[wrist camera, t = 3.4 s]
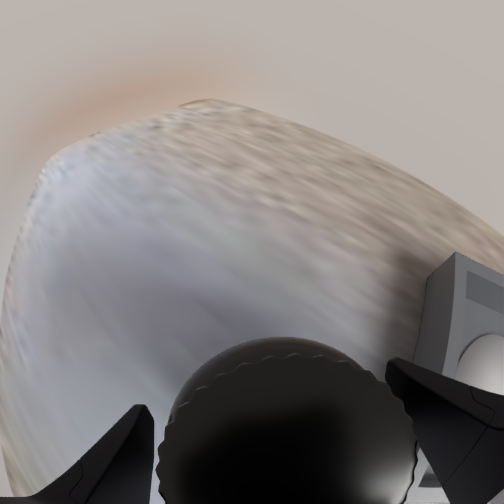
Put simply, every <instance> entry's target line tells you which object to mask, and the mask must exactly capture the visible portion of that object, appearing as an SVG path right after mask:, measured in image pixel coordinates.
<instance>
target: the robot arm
mask: <svg viewBox="0 0 504 504" xmlns="http://www.w3.org/2000/svg"><path fill="white" fill-rule="evenodd" d="M385 380H386V383H387V384H388V385H389V387H390V388H391V391H392V393H393V395H394V396H396V397H397V398H399V399H401V400H402V401H403V404H404V409H405V413H407V414H408V415H409V416H410V417H411V418H412V419H413V432H414V434H415V435H416V437H417V439H418V441H417V443H418V445H419V446H420V448H421V450H422V452H423V454H424V455H425V457H426V459H427V461H428V463H429V464H430V466H431V468H432V470H433V472H434V474H435V475H436V477H437V479H438V481H439V483H440V485H441V486H442V489H443V491H444V493H445V495H446V496H447V498H448V500H449V502H450V504H487V503H488V502H490V503H491V504H504V395H500V394H496V393H492V392H489V391H485V390H482V389H479V388H476V387H474V386H471V385H470V386H469V385H468V384H465V383H463V382H460V381H457V380H455V379H452V378H449V377H447V376H444V375H441V374H439V373H436V372H434V371H431V370H429V369H426V368H424V367H421V366H419V365H416V364H414V363H411V362H409V361H406V360H404V359H401V358H398V357H396V358H393V359H391V360H389V361H388V362H387V367H386V373H385ZM153 463H154V419H153V417H152V415H151V413H150V412H149V410H148V408H147V406H146V405H144V404H136V405H134V406H133V407H132V408H131V409H130V410H129V411H128V412H127V413H126V414H125V415H124V416H123V417H122V418H121V419H120V420H119V421H118V422H117V423H116V424H115V425H114V426H113V427H112V428H111V429H110V430H109V431H108V432H107V433H106V434H105V435H104V436H103V437H102V438H101V439H100V440H99V441H98V442H97V443H96V444H94V445H93V446H92V447H91V448H90V449H89V450H88V451H87V452H86V453H85V454H84V455H83V456H82V457H81V458H80V459H79V460H78V461H77V462H76V463H75V464H74V465H73V466H72V467H71V468H69V469H68V470H67V471H66V472H65V473H64V474H62V475H61V476H60V477H59V478H57V479H56V480H55V481H53V482H52V483H51V484H49V485H48V486H47V487H45V488H44V489H42V490H41V491H40V492H38V493H36V494H34V495H32V496H28V497H0V504H149V501H150V490H151V480H152V471H153Z"/></svg>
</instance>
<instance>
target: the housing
mask: <svg viewBox="0 0 504 504" xmlns="http://www.w3.org/2000/svg"><path fill="white" fill-rule="evenodd" d="M413 363H414V364H416V365H419V366H421V367H424V368H426V369H429V370H431V371H434V372H436V373H439V374H441V375H444V376H447V377H449V378H452V379H455V380H457V381H460V382H463V383H465V384H468V385H469V386H470V385H471V386H474V387H476V388H479V389H482V390H485V391H489V392H492V393H496V394H500V395H504V275H502V274H500V273H498V272H496V271H494V270H492V269H490V268H488V267H486V266H484V265H482V264H480V263H478V262H476V261H474V260H472V259H470V258H468V257H466V256H464V255H462V254H460V253H458V252H454V253H453V254H452V255H451V256H450V257H449V258H448V259H447V260H446V261H445V262H444V263H443V264H442V265H441V266H440V267H439V268H438V269H437V270H436V271H434V272H433V273H432V274H431V275H430V276H429V277H428V278H427V285H426V293H425V301H424V308H423V314H422V320H421V326H420V331H419V336H418V341H417V346H416V350H415V355H414V359H413ZM416 454H417V456H418V463H417V466H416V467H415V470H414V476H415V479H414V483H413V484H412V486H411V487H410V489H409V490H408V493H407V499H406V501H405V502H404V503H409V504H426V503H447V502H449V500H448V498H447V496H446V495H445V493H444V491H443V489H442V486H441V485H440V483H439V481H438V479H437V477H436V475H435V474H434V472H433V470H432V468H431V466H430V464H429V463H428V461H427V459H426V457H425V455H424V454H423V452H422V450H421V448H420V446H419V445H418V443H417V447H416Z"/></svg>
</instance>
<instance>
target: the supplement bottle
mask: <svg viewBox="0 0 504 504" xmlns="http://www.w3.org/2000/svg"><path fill="white" fill-rule="evenodd" d="M417 441H418V439H417V437H416V435H415V434H414V432H413V419H412V418H411V417H410V416H409V415H408V414H407V413H405V409H404V404H403V401H402V400H401V399H399V398H397V397H396V396H394V395H393V393H392V391H391V388H390V387H389V385H388V384H386V383H383V382H379V381H377V379H376V378H375V377H374V375H373V374H372V373H371V372H370V371H367V370H364V369H363V368H362V367H361V366H360V365H359V364H358V363H357V362H355V361H354V360H353V359H352V358H350V357H349V356H347V355H346V354H344V353H342V352H341V351H339V350H337V349H335V348H333V347H330V346H328V345H325V344H322V343H319V342H316V341H312V340H308V339H302V338H294V337H271V338H263V339H258V340H253V341H249V342H246V343H243V344H239V345H237V346H234V347H232V348H230V349H228V350H226V351H224V352H222V353H220V354H218V355H217V356H215V357H213V358H212V359H210V360H209V361H208V362H206V363H205V364H204V365H203V366H201V367H200V368H199V369H198V370H197V371H196V372H195V373H194V374H193V375H192V376H191V377H190V379H189V380H188V381H187V382H186V384H185V385H184V386H183V388H182V389H181V391H180V392H179V394H178V396H177V398H176V400H175V402H174V404H173V407H172V409H171V412H170V416H169V420H168V425H167V426H166V427H165V433H164V441H163V442H162V443H161V444H160V445H159V447H158V455H159V459H160V461H159V463H158V465H157V467H156V473H157V476H158V478H159V480H160V484H159V489H158V492H159V493H160V495H161V497H162V498H163V499H164V500H165V504H404V502H405V501H406V499H407V493H408V490H409V489H410V487H411V486H412V484H413V483H414V479H415V476H414V470H415V467H416V466H417V463H418V456H417V454H416V447H417Z"/></svg>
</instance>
